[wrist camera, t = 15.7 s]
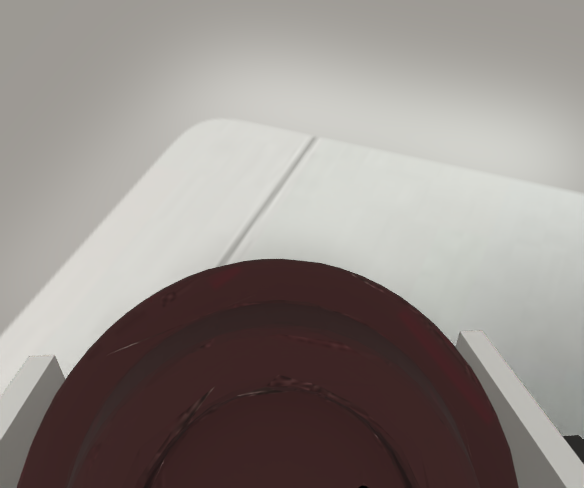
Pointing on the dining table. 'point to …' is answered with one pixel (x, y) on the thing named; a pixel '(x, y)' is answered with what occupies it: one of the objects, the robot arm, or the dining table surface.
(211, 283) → the coffee cup
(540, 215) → the dining table surface
